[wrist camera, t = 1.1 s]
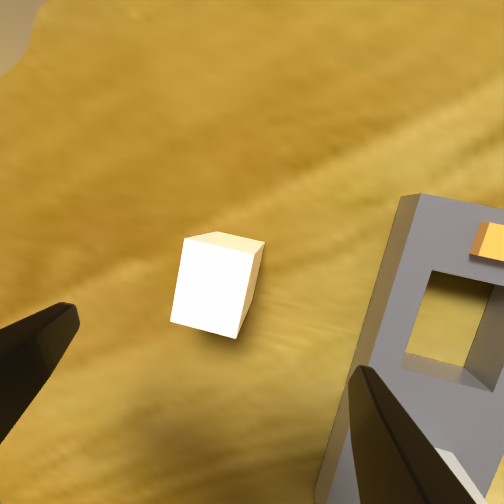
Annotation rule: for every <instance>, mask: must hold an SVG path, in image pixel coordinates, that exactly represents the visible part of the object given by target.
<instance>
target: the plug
mask: <svg viewBox="0 0 504 504" xmlns="http://www.w3.org/2000/svg"><path fill="white" fill-rule="evenodd" d="M264 245H265V242H261V241H257V240H253V239H248V238H244V237H239V236H235V235H231V234H226V233H222V232H218V231H217V232H212V233H207V234H203V235H198V236H193V237H189V238H185V239H184V245H183V251H182V257H181V262H180V268H179V274H178V280H177V285H176V291H175V297H174V303H173V308H172V314H171V320H170V321H171V322H175V323H178V324H182V325H186V326H190V327H193V328H197V329H201V330H205V331H208V332H212V333H216V334H219V335H223V336H227V337H231V338H234V339H236V337H237V335H238V333H239V330H240V328H241V326H242V323H243V321H244V319H245V316H246V314H247V312H248V309H249V307H250V305H251V302H252V299H253V294H254V290H255V285H256V281H257V276H258V272H259V267H260V263H261V258H262V254H263V249H264Z"/></svg>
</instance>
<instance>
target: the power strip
mask: <svg viewBox="0 0 504 504" xmlns="http://www.w3.org/2000/svg"><path fill="white" fill-rule="evenodd" d="M432 270H434V271H439V272H443V273H448V274H452V275H457V276H461V277H466V278H470V279H475V280H479V281H484V282H488V283H492V284H495V285H494V287H493V290H492V293H491V295H490V298H489V301H488V304H487V306H486V309H485V312H484V314H483V317H482V320H481V322H480V325H479V328H478V331H477V333H476V336H475V339H474V341H473V344H472V347H471V349H470V352H469V355H468V358H467V360H466V363H465V366H464V367H460V366H456V365H452V364H448V363H444V362H440V361H437V360H433V359H429V358H425V357H421V356H417V355H413V354H409V353H405V350H406V347H407V344H408V341H409V338H410V335H411V332H412V329H413V326H414V323H415V320H416V317H417V314H418V311H419V308H420V305H421V302H422V299H423V295H424V292H425V289H426V286H427V283H428V280H429V277H430V274H431V271H432ZM358 365H365V366H370V367H372V368H373V369H374V370H375V371H376V372H377V373H378V375H379V376H380V377H381V379H382V380H383V381H384V383H385V384H386V385H387V387H388V388H389V389H390V390H391V392H392V393H393V394H394V396H395V397H396V398H397V400H398V401H399V402H400V404H401V405H402V406H403V408H404V409H405V410H406V411H407V413H408V414H409V415H410V417H411V418H412V419H413V421H414V422H415V423H416V425H417V426H418V427H419V428H420V430H421V431H422V432H423V434H424V435H425V436H426V438H427V439H428V440H429V442H430V443H431V444H432V445H433V447H434V448H435V449H436V451H437V452H438V453H439V455H440V456H441V457H442V459H443V460H444V461H445V462H446V464H447V465H448V466H449V468H450V469H451V470H452V472H453V473H454V474H455V476H456V477H457V478H458V479H459V481H460V482H461V483H462V485H463V486H464V487H465V489H466V490H467V491H468V493H469V494H470V495H471V496H472V498H473V499H474V500H475V502H476V503H477V504H488V503H487V502H486V500H485V497H486V495H487V492H488V490H489V487H490V485H491V483H492V480H493V478H494V475H495V473H496V471H497V468H498V466H499V464H500V461H501V459H502V456H503V454H504V209H499V208H494V207H489V206H484V205H478V204H473V203H468V202H463V201H458V200H453V199H448V198H443V197H438V196H433V195H428V194H423V193H420V194H414V195H408V196H402V197H401V199H400V203H399V206H398V209H397V213H396V216H395V220H394V223H393V226H392V230H391V233H390V236H389V240H388V243H387V247H386V250H385V253H384V257H383V260H382V263H381V267H380V270H379V274H378V277H377V280H376V284H375V287H374V290H373V294H372V297H371V301H370V304H369V307H368V311H367V314H366V317H365V321H364V324H363V328H362V331H361V334H360V338H359V341H358V344H357V348H356V351H355V355H354V358H353V361H352V365H351V368H350V371H349V375H348V378H347V382H346V385H345V388H344V392H343V395H342V398H341V402H340V405H339V408H338V412H337V415H336V419H335V422H334V425H333V429H332V432H331V435H330V439H329V442H328V446H327V449H326V452H325V456H324V459H323V462H322V466H321V469H320V473H319V476H318V479H317V483H316V486H315V489H314V495H315V504H360V498H359V492H358V485H357V479H356V472H355V466H354V459H353V453H352V446H351V437H350V421H349V401H348V381H349V379H350V377H351V375H352V374H353V372H354V370H355V369H356V367H357V366H358Z"/></svg>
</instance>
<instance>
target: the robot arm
mask: <svg viewBox="0 0 504 504" xmlns="http://www.w3.org/2000/svg"><path fill="white" fill-rule="evenodd" d="M79 326H80V320H79V316H78V312H77V308H76V306H75V305H74V304H71V303H66V302H59V303H57V304H55V305H52V306H50V307H48V308H46V309H44V310H41V311H39V312H37V313H35V314H33V315H30V316H28V317H26V318H24V319H22V320H19V321H17V322H15V323H13V324H11V325H8V326H6V327H4V328H2V329H0V444H1V443H2V441H3V440H4V439H5V437H6V436H7V435H8V433H9V432H10V430H11V429H12V428H13V426H14V425H15V424H16V422H17V421H18V420H19V418H20V417H21V415H22V414H23V413H24V411H25V410H26V409H27V407H28V406H29V405H30V403H31V402H32V400H33V399H34V398H35V396H36V395H37V394H38V392H39V391H40V390H41V388H42V387H43V385H44V384H45V383H46V381H47V380H48V378H49V377H50V376H51V374H52V373H53V371H54V369H55V368H56V366H57V364H58V363H59V361H60V359H61V358H62V356H63V354H64V353H65V351H66V349H67V348H68V346H69V344H70V343H71V341H72V339H73V338H74V336H75V334H76V333H77V331H78V329H79ZM348 401H349V421H350V437H351V446H352V453H353V459H354V466H355V472H356V479H357V485H358V492H359V498H360V504H477V503H476V502H475V500H474V499H473V498H472V496H471V495H470V494H469V493H468V491H467V490H466V489H465V487H464V486H463V485H462V483H461V482H460V481H459V479H458V478H457V477H456V476H455V474H454V473H453V472H452V470H451V469H450V468H449V466H448V465H447V464H446V462H445V461H444V460H443V459H442V457H441V456H440V455H439V453H438V452H437V451H436V449H435V448H434V447H433V445H432V444H431V443H430V442H429V440H428V439H427V438H426V436H425V435H424V434H423V432H422V431H421V430H420V428H419V427H418V426H417V425H416V423H415V422H414V421H413V419H412V418H411V417H410V415H409V414H408V413H407V411H406V410H405V409H404V408H403V406H402V405H401V404H400V402H399V401H398V400H397V398H396V397H395V396H394V394H393V393H392V392H391V390H390V389H389V388H388V387H387V385H386V384H385V383H384V381H383V380H382V379H381V377H380V376H379V375H378V373H377V372H376V371H375V370H374V369H373V368H372V367H370V366H365V365H358V366H357V367H356V369H355V370H354V372H353V374H352V375H351V377H350V379H349V381H348Z"/></svg>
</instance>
